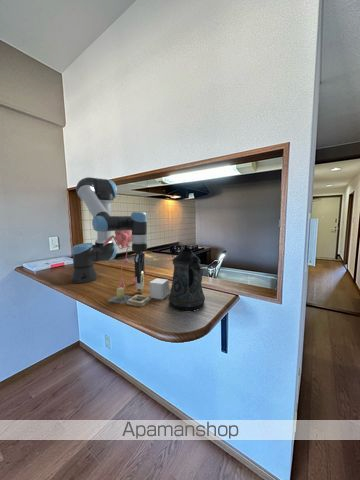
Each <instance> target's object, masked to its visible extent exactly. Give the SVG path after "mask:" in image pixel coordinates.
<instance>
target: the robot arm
mask: <svg viewBox="0 0 360 480" xmlns="http://www.w3.org/2000/svg"><path fill="white" fill-rule="evenodd" d="M75 192H76V194H77V196H78V198H80V199H81V200H82V201H83V202H84V204H85V206H86V208H87V209H88V211H89V213H90V214H91V216H92V219H91V220H92V222H91V223H92V228H93V230H94V231H96V232H97V235H96V236H97V239H96V240H95V241H94V244H93V242H86V243H85V242H84V243H79V244H76V245H74V246H73V247H72V265H73V270H72V274H71V277H70V282H71V283H73V284H85V283H91V282H94V281H96V280H97V279H98V275H97V272H96V269H95V267H94V263H98V262H104V261H106V262H107V261H111V260H114V259H115V257H116V256H117V250H118V249H117V245H116V242H115V243H114V239H113V238H112V239H111V241H110V242H109V243H108V244H106V245H105V246H103V245H104V243H105V241H106V240H107V239H108V238H110V237H111V236H112V232H115V231H123V230H130V231H131V234H132V236H131V238H132V242H131V246H132V247H131V250H132V251H133V252H135V255H134V258H133V263H134V276H135V277H136V282H135V283H136V290H137V289H142V276H141V271H143V278H144V279H145V274H146V270H145V266H146V265H145V255H146V254H145V251H147V250H148V243H147V242H148V233H147V232H148V227H147V225H148V223H147V222H148V219H147V213H146V212H143V211H141V212H140V211H139V212H138V211H137V212H136V211H135V212H131V215H130V216H129V215H112V203H113V202H114V199H116V198H117V196H118V189H117V185H116V183H115V182H114V181H113V180H110V179H105V178H98V177H84V178H83V177H82V179H80V180H79V181H78V182H77V184H76V187H75Z"/></svg>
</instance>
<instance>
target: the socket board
mask: <svg viewBox="0 0 360 480" xmlns="http://www.w3.org/2000/svg"><path fill="white" fill-rule="evenodd" d="M132 296H133V295H132ZM150 301H152V298H151V297H150V295H144V294H135V295H134V296H133V297H132V298H130V299H128V300H127V301H126V305H130V306H135V307H143V306H145V305H146V304H147V303H149V302H150Z"/></svg>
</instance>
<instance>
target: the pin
mask: <svg viewBox="0 0 360 480" xmlns="http://www.w3.org/2000/svg"><path fill="white" fill-rule="evenodd" d="M141 276H142V289H137V288H136V292H144V290H145V277H144V278H143V271H141Z"/></svg>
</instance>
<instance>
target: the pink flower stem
mask: <svg viewBox="0 0 360 480" xmlns="http://www.w3.org/2000/svg"><path fill="white" fill-rule="evenodd" d="M114 234H115V235H111V237H110V238H108V239H107V240H106V241H105V243H104V245H103V246H105V245H106V244H108V243H109V242H110V241H111V239H112V240H113V241H115V245H116V246H117V247H118V249H119V250H123V249H125V248H126V251H125V252H126V254H125V259H123V260H124V261H123V264H122V266H121V268H120V274H121V275H120V276H121V278H120V282H119V283H118V284H117V285H118V286H117V288H120V286H121V285H122V286H123V288H124V291H125V290H126V286H125V282H126V281H124V280H125V279H124V278H123V270H122V269H123V267H124V265H125V264H126V265H128V264H133V265H135V262H131V261H130V260H129V259H128V258H127V257H128V251H129V250H128V249H129V248H132V245H131V246H130V245H129V244H130V243H133V242H132V238H131V236H132V232H131V230H123V231H114ZM131 280H132V282H133V283H136V277H135V275H134V276H133V277H132V279H131ZM145 283H147V281H146V282H145ZM117 288H116V289H117Z"/></svg>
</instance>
